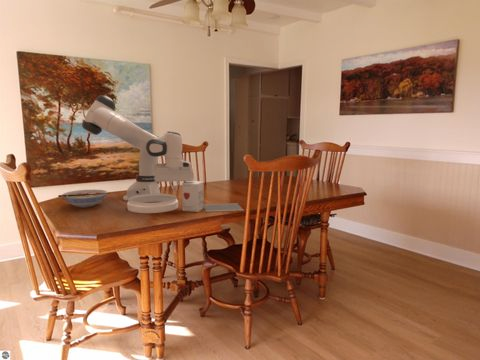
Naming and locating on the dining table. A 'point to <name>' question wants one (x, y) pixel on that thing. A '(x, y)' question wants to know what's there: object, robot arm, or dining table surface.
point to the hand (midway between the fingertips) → (174, 189)
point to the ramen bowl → (84, 197)
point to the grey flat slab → (222, 207)
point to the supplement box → (192, 196)
